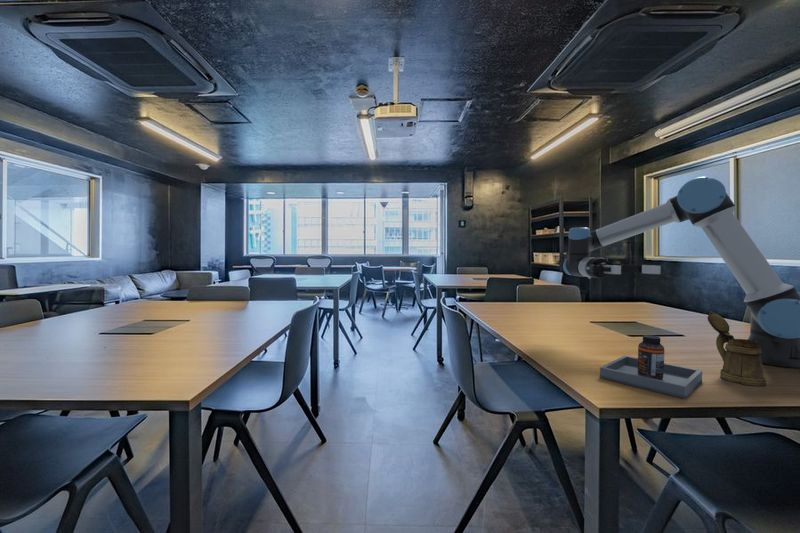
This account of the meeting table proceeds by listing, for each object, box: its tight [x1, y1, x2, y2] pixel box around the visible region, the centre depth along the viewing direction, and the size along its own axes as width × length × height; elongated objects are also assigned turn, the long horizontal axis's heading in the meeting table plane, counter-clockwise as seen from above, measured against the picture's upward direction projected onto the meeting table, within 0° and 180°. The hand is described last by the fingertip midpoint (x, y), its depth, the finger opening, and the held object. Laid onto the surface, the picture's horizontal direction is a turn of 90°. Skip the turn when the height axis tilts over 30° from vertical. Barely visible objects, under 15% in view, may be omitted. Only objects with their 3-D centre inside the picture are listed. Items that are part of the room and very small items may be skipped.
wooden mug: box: [707, 310, 767, 387], centre depth 100 cm, size 9×14×18 cm, turn 11°
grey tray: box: [599, 355, 703, 400], centre depth 98 cm, size 19×19×3 cm
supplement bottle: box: [637, 334, 665, 380], centre depth 98 cm, size 6×6×11 cm
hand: (639, 269), depth 111 cm, fingers open, 13 cm apart
